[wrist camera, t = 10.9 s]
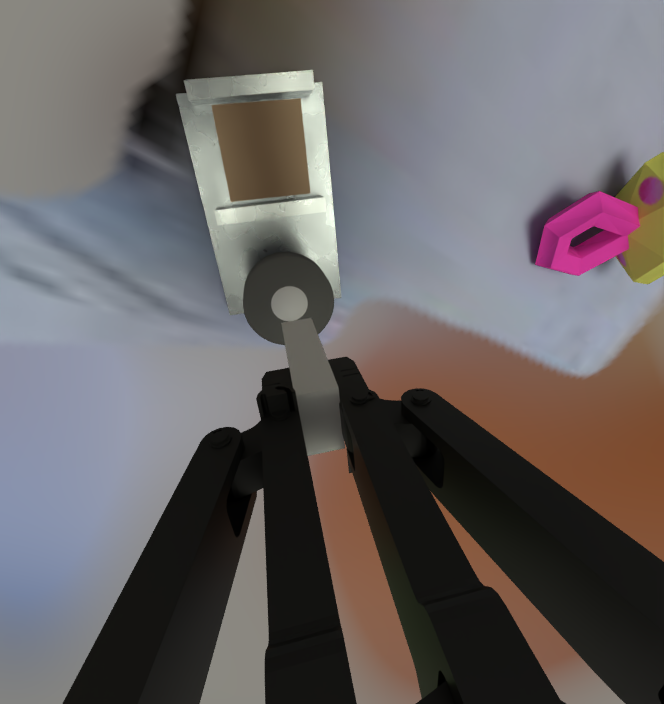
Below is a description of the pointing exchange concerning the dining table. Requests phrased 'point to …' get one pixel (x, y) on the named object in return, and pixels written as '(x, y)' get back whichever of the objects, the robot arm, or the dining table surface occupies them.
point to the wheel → (286, 294)
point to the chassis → (268, 213)
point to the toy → (612, 229)
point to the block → (262, 148)
